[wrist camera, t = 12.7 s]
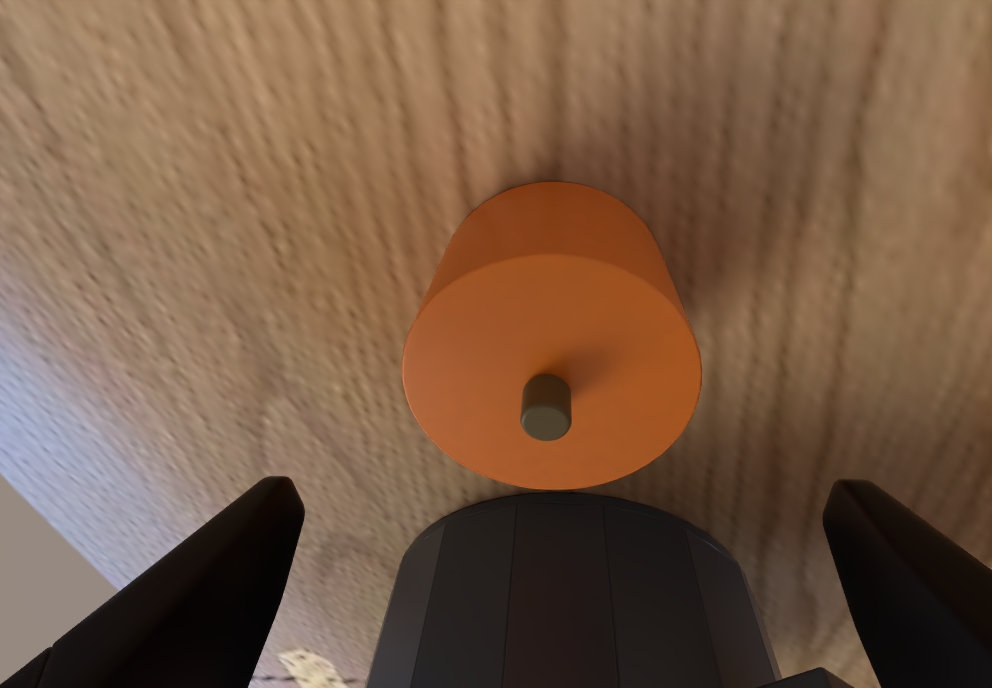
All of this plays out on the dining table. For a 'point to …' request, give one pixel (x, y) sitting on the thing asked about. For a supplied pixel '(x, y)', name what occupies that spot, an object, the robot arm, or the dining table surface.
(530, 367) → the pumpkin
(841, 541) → the robot arm
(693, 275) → the dining table surface
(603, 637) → the pot
